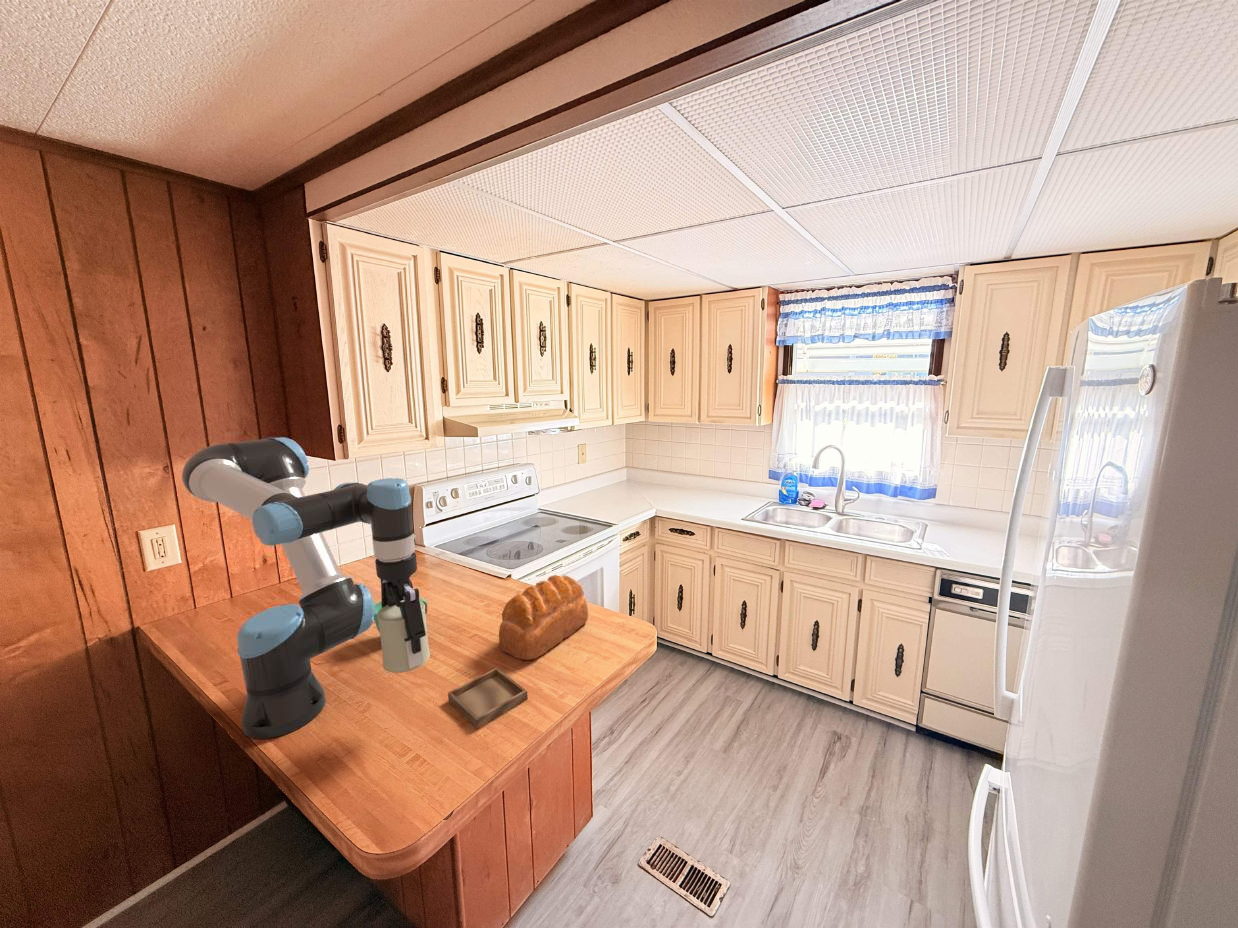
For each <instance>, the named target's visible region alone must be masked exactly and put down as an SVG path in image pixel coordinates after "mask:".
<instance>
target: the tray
mask: <svg viewBox="0 0 1238 928" xmlns="http://www.w3.org/2000/svg"><path fill="white" fill-rule="evenodd" d="M447 697H448V698H447V700H448V702H449V703H450V704H452V706H453V707H454V708H455V709H456V710H457V711H458V712H460V714H462V716H463V717H465V718H466V720H468V722H470V723H471V724H472V725H473V726H474V727H475V728H476V729H478V730H479V728H482V727H484V726H485V725H486V724H489V723H490V722H492V721H493V720H495V719H496V718H498V717H500V716H502V715H504V714H505V713H507V712H508V711H510V710H511V709H513V708H515V707H518V705H520V704H522V703H523V702H525V701H527V700H528V690H527V689H526V688H524V687H523V686H522V685H520V684H519V683H518V682H516V681H515V680H514V679H512V677H511V676H508V674H506V673H505V672H503V671H502V670H501V669H500V668H498V667H495V668H493V669H491V670H489V671H488V672H486V673H484V674H481V675H480V676H478V677H475V678H474V679H472V680H470V681H468V682H466V683H464V684H463V685H460V686H458V687H456V688H455V689H453V690H451V691H449V692H447Z"/></svg>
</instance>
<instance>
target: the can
mask: <svg viewBox="0 0 1238 928" xmlns="http://www.w3.org/2000/svg"><path fill="white" fill-rule="evenodd" d="M404 601H405V600H402V601H401V602H404ZM420 606H421V611H422V617H423V622H424V627H425V632H426V636H424V637H421V644H422V654H423V663H422V664H420V665H418V666H415V667H413V668H411V669H410V668H409V665H408V656H407V646H406V642H405V640H404V639H405V638H407V637H408V636H407V633H406V629H405V620H404V619H403V618H402V615H401V611H400V608H399V607H397V606H396V604H395V605H393V606H390V607H389V606H388V605H386V606H385V607H383V608H382V609H380V610H379V612H378V614H377V617H378V623H379V630H380V633H379V637H380V645H381V653H382V668H383V669H384V670H385V671H386V672H388V673H392V674H400V673H401V674H402V673H403V674H404V673H407V672H411V671H414V670H416V669H418V668H421V667H422V666H423V665H425V663H427V661H428V660H429V659H430V656H431V652H430V649H429V639H428V638H429V637H428V630H427V629H428V628H427V617H426V615H425V604H424V603H423V602H422V601H420Z"/></svg>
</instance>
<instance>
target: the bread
mask: <svg viewBox="0 0 1238 928" xmlns="http://www.w3.org/2000/svg"><path fill="white" fill-rule="evenodd" d="M501 618H502V621H501V623H500V625H499V628H498V644H499V649H500V650H501V651H503V652H505V653H507V654H509V655H511V656H513V657H514V658H516V659H520V660H524V661H527V660H535V659H537V658H539V657H540V656H542V655H545V654H546V653H547V652H548V651H549V650H551V649H553V648H554V647H555V646H557V645H558V644H560V643H562V641H563V640H564V639H566V638H568V637H569V636H571V635H572V634H574V633H575V632H576V631H577V630H578V629H579V628H581V627H582V626H583V625H584V624H586V622H587V621H588V619H589V609H588V603H587V599H586V597H585V593H584V590H583V587H582V585H581V584H580V583H578V582H577V581H576V580H575V579H573V578H572V577H570V576H567V575H565V574H564V575H561V576H560V575H557V574H554V575H551V576H549V577H548V578H547V580H542V581H539V582H536V583H535V585H534V586H529V587H526V588H525V589H524V591H523V592H522V594H519V593H517V594H516V595H514V596H513V597H511V599H509V600H508V601H507V602H506V604H505V606H504V607H503V610H502V613H501Z"/></svg>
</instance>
